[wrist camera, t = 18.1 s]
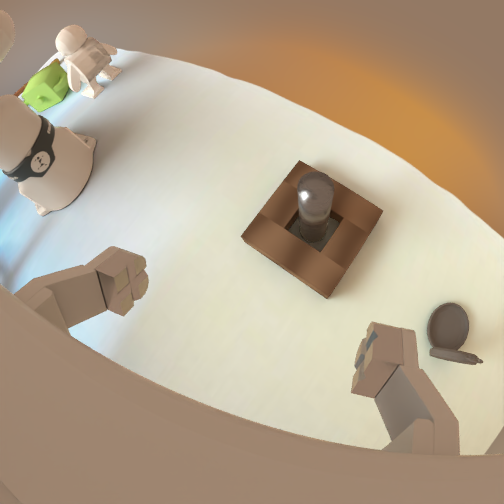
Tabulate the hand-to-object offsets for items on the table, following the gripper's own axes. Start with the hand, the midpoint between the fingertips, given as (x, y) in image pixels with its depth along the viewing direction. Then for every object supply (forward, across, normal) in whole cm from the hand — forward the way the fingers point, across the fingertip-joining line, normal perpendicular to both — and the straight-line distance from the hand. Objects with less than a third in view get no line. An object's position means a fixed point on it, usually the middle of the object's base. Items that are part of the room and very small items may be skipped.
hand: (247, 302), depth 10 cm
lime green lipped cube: (+44, +75, -5) cm, 87 cm away
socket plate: (+28, 0, +11) cm, 30 cm away
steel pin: (+28, 0, +11) cm, 30 cm away
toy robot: (+47, +54, -8) cm, 72 cm away
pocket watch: (+22, -21, +18) cm, 35 cm away
